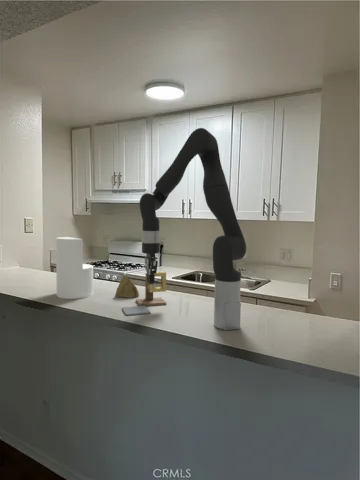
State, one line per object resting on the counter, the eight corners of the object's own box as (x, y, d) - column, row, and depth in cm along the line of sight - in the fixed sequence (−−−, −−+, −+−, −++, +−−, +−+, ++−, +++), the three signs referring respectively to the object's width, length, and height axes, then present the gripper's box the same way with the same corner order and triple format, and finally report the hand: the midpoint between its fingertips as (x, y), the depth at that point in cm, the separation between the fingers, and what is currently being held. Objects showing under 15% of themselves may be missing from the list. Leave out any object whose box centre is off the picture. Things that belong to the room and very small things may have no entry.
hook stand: (169, 307, 142) (170, 278, 141) (142, 309, 138) (142, 279, 137) (160, 299, 156) (161, 272, 155) (135, 301, 152) (135, 273, 151)
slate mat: (150, 313, 133) (150, 312, 133) (126, 315, 130) (126, 314, 130) (144, 306, 143) (144, 305, 143) (121, 308, 140) (121, 307, 140)
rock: (144, 291, 162) (130, 285, 168) (138, 279, 157) (124, 274, 163) (130, 307, 157) (116, 300, 162) (124, 295, 151) (109, 289, 157)
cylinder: (65, 300, 151) (64, 239, 148) (51, 293, 164) (50, 237, 161) (99, 295, 162) (99, 238, 160) (84, 288, 175) (83, 236, 173)
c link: (166, 291, 139) (166, 272, 139) (149, 292, 137) (150, 273, 136) (164, 289, 142) (164, 271, 142) (148, 290, 140) (148, 272, 139)
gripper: (164, 242, 132) (163, 285, 133) (155, 240, 145) (155, 279, 146) (145, 243, 129) (145, 286, 131) (138, 240, 143) (138, 279, 144)
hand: (150, 282), depth 138 cm, fingers closed on c link, 3 cm apart
